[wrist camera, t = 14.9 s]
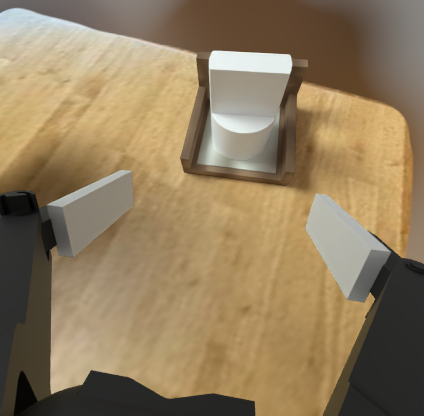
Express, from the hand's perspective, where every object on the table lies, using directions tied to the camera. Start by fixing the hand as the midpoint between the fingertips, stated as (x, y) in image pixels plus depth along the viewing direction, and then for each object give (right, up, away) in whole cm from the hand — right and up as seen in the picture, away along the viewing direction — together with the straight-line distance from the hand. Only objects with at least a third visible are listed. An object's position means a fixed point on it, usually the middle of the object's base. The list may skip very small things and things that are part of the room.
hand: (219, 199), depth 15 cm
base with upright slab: (+4, +11, +19) cm, 22 cm away
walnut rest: (+4, +11, +20) cm, 24 cm away
